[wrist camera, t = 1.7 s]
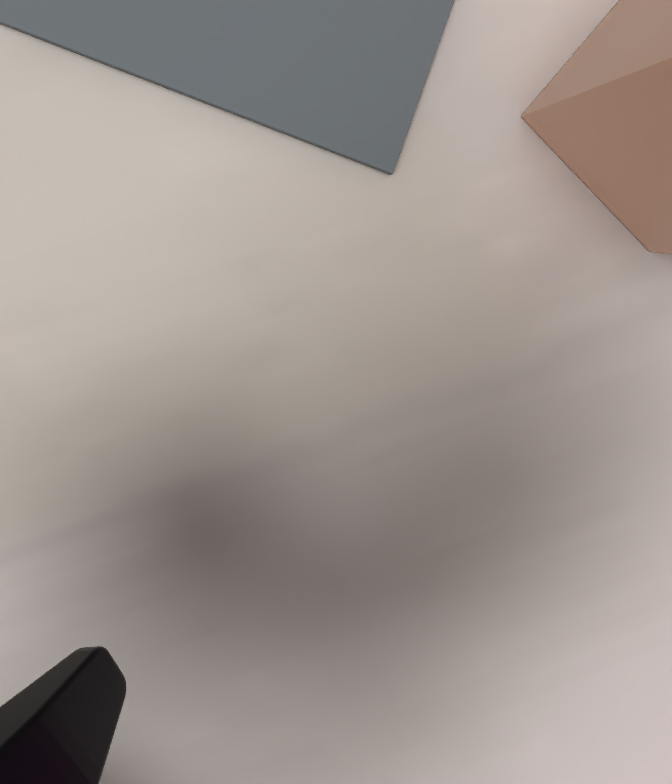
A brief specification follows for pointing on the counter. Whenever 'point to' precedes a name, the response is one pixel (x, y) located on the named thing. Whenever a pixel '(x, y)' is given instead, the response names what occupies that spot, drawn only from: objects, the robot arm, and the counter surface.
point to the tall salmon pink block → (618, 117)
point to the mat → (266, 59)
